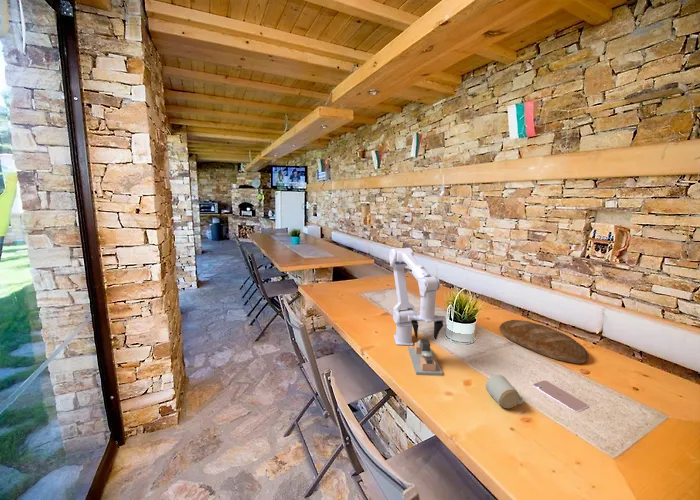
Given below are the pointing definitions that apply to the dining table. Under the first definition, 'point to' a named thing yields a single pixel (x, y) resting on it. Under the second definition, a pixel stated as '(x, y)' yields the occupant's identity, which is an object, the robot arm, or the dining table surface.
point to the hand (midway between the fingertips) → (425, 338)
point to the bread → (544, 341)
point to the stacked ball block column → (425, 349)
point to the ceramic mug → (503, 391)
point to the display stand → (423, 362)
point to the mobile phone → (560, 396)
